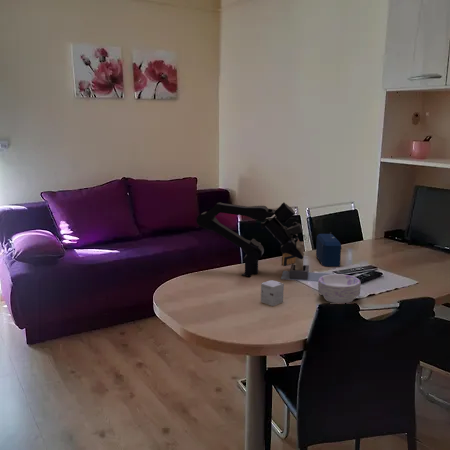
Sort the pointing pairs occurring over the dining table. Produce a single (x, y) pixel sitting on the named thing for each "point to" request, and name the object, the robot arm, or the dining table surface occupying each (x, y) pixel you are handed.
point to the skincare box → (272, 292)
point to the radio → (328, 250)
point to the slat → (299, 261)
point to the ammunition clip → (288, 259)
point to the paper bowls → (339, 287)
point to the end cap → (299, 272)
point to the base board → (310, 278)
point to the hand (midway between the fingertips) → (303, 256)
